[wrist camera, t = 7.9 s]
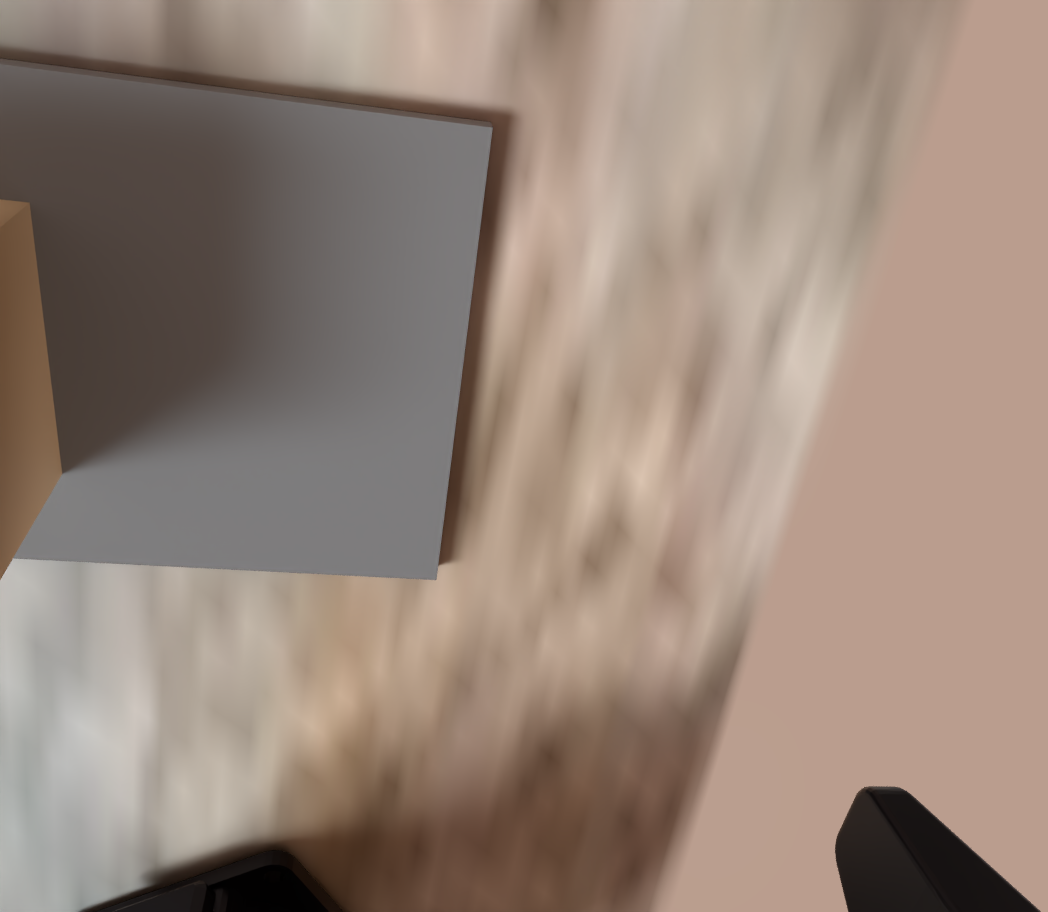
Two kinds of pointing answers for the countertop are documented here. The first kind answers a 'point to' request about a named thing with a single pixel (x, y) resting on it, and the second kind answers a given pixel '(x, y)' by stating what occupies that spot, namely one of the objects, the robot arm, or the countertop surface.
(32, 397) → the block
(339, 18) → the countertop surface
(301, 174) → the mat
